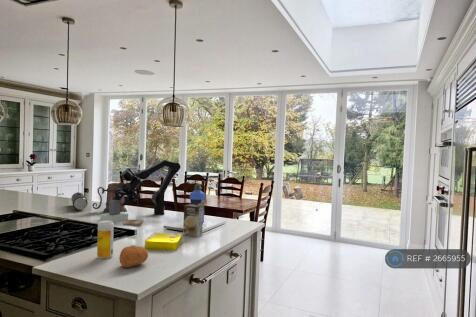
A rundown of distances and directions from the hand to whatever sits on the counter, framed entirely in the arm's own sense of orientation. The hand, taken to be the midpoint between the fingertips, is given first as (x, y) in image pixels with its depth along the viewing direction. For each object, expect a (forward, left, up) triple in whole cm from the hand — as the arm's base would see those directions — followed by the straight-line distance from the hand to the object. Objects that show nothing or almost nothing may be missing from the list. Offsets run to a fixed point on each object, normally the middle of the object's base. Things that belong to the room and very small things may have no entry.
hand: (118, 204), depth 206 cm
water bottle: (-49, +11, -10) cm, 52 cm away
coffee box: (-46, +38, -10) cm, 61 cm away
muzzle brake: (+36, -41, -10) cm, 55 cm away
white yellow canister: (-9, +73, -10) cm, 74 cm away
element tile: (-33, +57, -10) cm, 66 cm away
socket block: (+2, +2, -10) cm, 10 cm away
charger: (+2, +2, -9) cm, 10 cm away
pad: (-11, +12, -10) cm, 19 cm away
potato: (-22, +83, -10) cm, 87 cm away
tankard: (+11, -28, -10) cm, 32 cm away
